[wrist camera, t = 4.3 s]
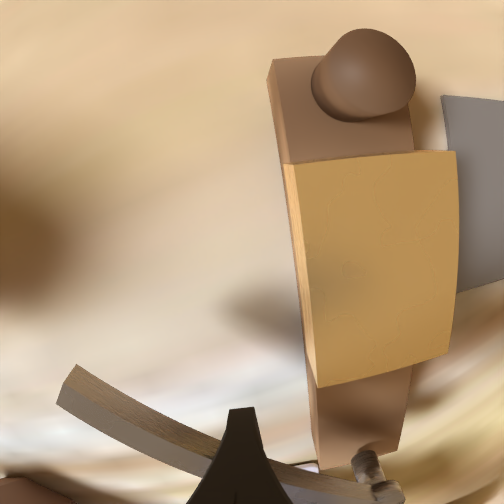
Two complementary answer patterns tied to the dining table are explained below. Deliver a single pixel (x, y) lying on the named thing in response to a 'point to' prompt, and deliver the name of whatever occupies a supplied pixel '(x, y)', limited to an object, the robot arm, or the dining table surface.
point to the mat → (478, 186)
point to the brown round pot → (28, 493)
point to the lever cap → (375, 259)
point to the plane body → (337, 145)
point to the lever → (211, 446)
